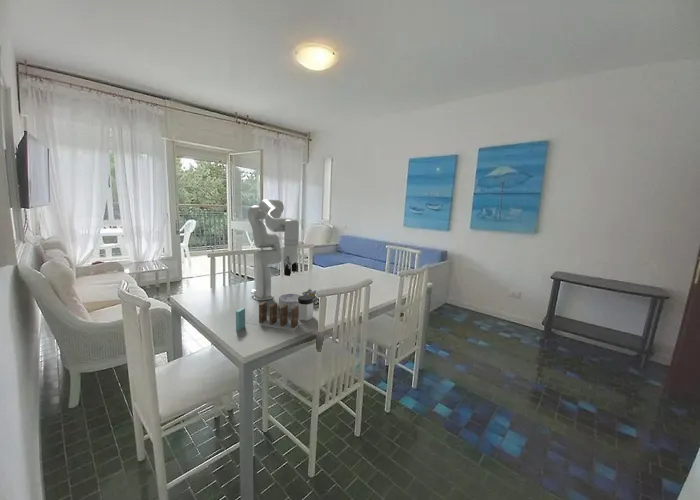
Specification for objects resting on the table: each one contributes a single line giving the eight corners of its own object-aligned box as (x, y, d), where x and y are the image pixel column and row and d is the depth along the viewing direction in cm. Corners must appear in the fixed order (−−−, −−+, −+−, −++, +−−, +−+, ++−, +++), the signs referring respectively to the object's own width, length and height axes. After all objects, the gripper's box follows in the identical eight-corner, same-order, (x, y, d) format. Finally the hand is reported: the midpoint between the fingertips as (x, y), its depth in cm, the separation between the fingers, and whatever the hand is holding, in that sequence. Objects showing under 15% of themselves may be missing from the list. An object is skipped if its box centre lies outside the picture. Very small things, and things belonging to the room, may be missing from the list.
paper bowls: (290, 303, 182) (290, 291, 180) (309, 308, 175) (310, 296, 173) (273, 310, 168) (273, 297, 167) (293, 316, 161) (294, 303, 160)
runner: (242, 323, 150) (242, 322, 150) (252, 315, 160) (252, 315, 160) (294, 331, 144) (294, 330, 144) (301, 323, 153) (301, 322, 153)
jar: (306, 313, 166) (306, 293, 164) (315, 318, 161) (316, 297, 159) (294, 318, 160) (294, 297, 158) (303, 322, 154) (304, 301, 152)
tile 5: (290, 327, 147) (291, 309, 145) (294, 323, 152) (295, 305, 150) (294, 328, 146) (294, 309, 145) (298, 324, 151) (298, 306, 149)
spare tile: (236, 330, 141) (235, 311, 140) (242, 326, 146) (241, 307, 144) (239, 331, 141) (239, 311, 139) (245, 326, 146) (245, 308, 144)
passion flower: (311, 314, 180) (302, 301, 173) (304, 305, 189) (296, 293, 182) (325, 303, 182) (317, 290, 176) (319, 295, 191) (310, 282, 185)
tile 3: (269, 324, 149) (269, 305, 148) (274, 320, 154) (274, 302, 152) (272, 324, 149) (272, 306, 147) (277, 321, 154) (277, 303, 152)
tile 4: (280, 325, 148) (280, 307, 146) (284, 322, 153) (284, 304, 151) (283, 326, 148) (283, 307, 146) (287, 322, 152) (287, 304, 151)
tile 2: (259, 322, 151) (258, 304, 149) (263, 319, 155) (263, 301, 154) (262, 323, 150) (262, 304, 149) (266, 319, 155) (266, 301, 153)
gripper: (290, 240, 164) (290, 269, 167) (278, 244, 147) (277, 276, 150) (303, 241, 162) (302, 270, 165) (291, 245, 146) (291, 278, 148)
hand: (290, 273), depth 158 cm, fingers open, 9 cm apart
